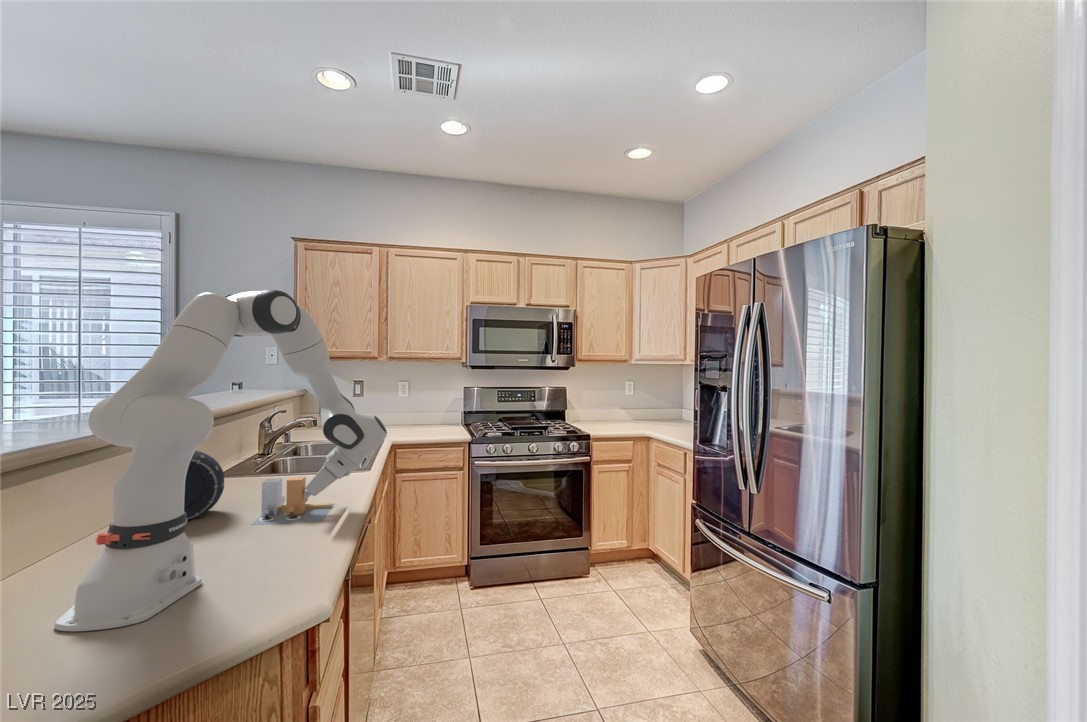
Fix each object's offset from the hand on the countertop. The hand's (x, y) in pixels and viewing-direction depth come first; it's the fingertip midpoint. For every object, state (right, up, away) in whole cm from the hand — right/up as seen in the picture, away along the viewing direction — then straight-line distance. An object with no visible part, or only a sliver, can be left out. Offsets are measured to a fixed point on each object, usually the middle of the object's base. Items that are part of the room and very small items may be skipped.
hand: (305, 495), depth 140 cm
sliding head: (-3, -5, 0) cm, 6 cm away
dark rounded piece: (-33, -6, -5) cm, 34 cm away
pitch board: (-3, -6, -1) cm, 7 cm away
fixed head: (-9, -5, -1) cm, 11 cm away
